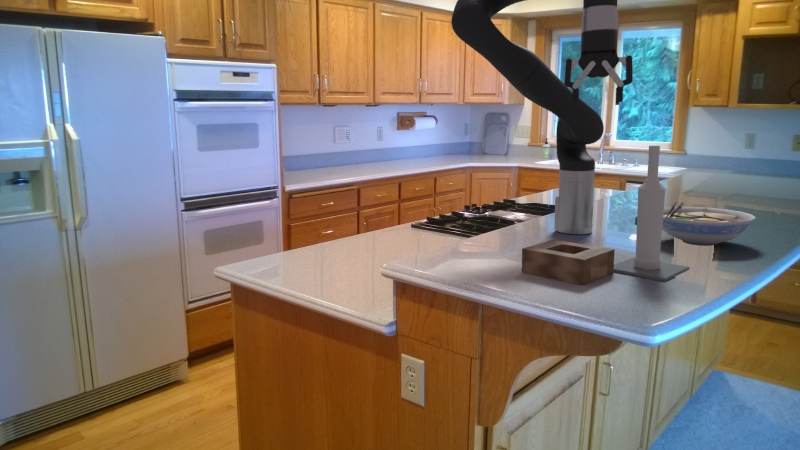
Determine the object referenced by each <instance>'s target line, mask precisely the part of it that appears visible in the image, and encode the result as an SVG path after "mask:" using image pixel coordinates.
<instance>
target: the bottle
mask: <svg viewBox="0 0 800 450" xmlns="http://www.w3.org/2000/svg"><path fill="white" fill-rule="evenodd" d="M660 150H661V145H648V158H647V159H648V163H647V165H648V166H647V178H645V180H644V182H643V183H642V184H641V185H640V186H638V187H637V188H638V189H637V209H636V210H637V216H636V217H637V224H636V238H635V240H636V242H635V256H634V257H633V258H634V265H635V267H636V268H639V269H644V270H656V269H659V268H660V264H661V262H662V260H661V258H660V256H661V246H662V233H663V229H662V224H663V213H664V208H665V202H666V189H667V188H666V187H665V186H664V185H663V184H662V183H661V181H660V179H659V161H660V152H661V151H660Z"/></svg>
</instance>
